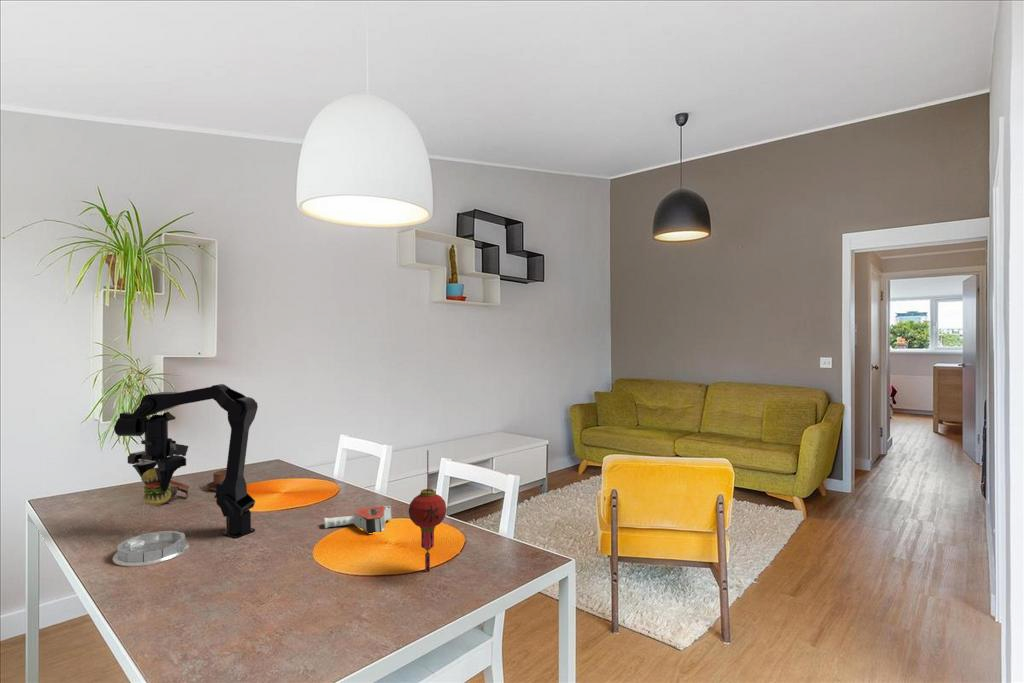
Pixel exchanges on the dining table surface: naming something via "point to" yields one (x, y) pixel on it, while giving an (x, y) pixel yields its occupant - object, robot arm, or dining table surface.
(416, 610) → the dining table surface
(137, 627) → the dining table surface
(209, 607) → the dining table surface
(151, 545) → the collar
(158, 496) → the hamburger
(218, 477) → the cup and saucer
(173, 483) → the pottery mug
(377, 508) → the tape dispenser
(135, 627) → the dining table surface
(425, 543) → the lantern
